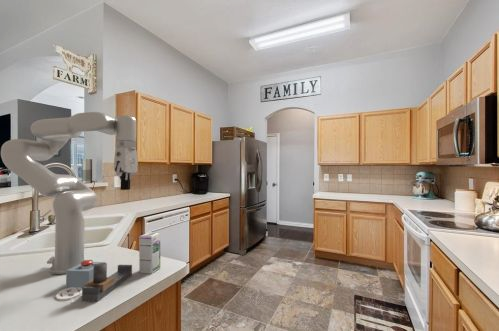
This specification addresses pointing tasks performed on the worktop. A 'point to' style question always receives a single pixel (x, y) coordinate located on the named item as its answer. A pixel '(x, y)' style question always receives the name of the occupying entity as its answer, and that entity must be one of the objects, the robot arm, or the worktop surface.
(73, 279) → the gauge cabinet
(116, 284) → the rail
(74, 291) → the pendant
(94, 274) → the carriage
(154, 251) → the syrup box
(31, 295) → the worktop surface
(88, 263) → the plunger
